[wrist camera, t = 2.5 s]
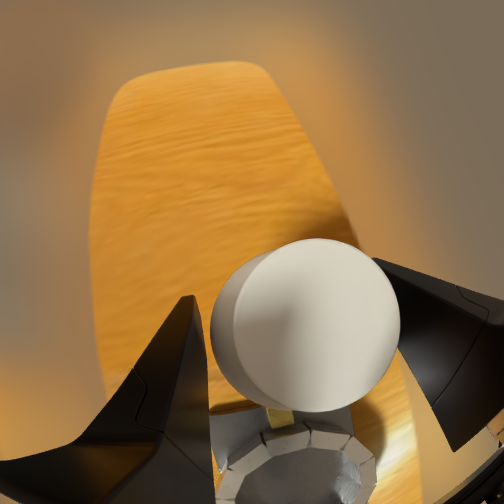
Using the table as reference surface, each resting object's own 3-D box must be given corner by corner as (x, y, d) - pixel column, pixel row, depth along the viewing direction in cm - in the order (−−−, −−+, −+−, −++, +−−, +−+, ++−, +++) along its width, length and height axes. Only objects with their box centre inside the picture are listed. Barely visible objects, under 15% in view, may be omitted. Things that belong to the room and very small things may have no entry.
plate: (359, 528, 10) (363, 533, 9) (255, 557, 9) (256, 563, 8) (340, 381, 14) (345, 383, 13) (204, 413, 13) (203, 417, 12)
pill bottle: (307, 279, 16) (395, 203, 7) (321, 368, 14) (432, 399, 5) (214, 291, 15) (186, 221, 6) (227, 384, 14) (218, 460, 4)
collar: (368, 505, 10) (378, 514, 9) (238, 541, 9) (238, 553, 8) (353, 380, 13) (365, 383, 12) (194, 418, 12) (190, 426, 11)
